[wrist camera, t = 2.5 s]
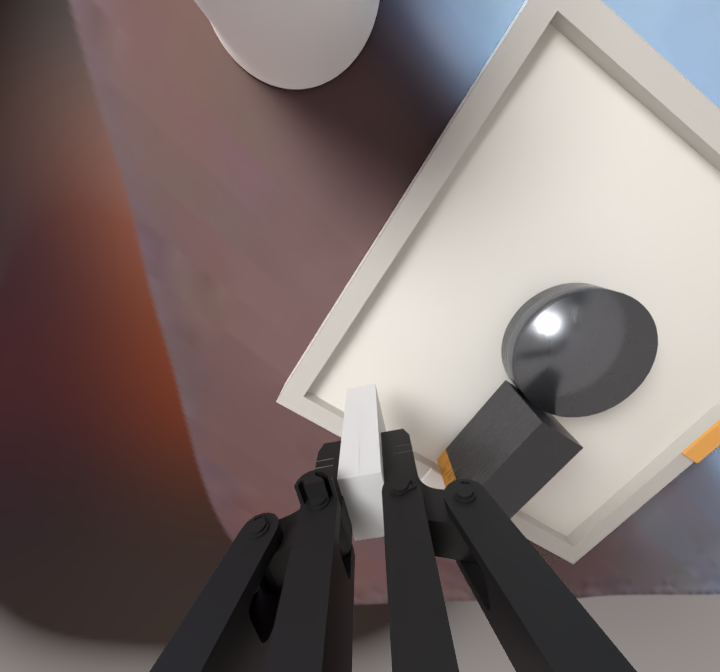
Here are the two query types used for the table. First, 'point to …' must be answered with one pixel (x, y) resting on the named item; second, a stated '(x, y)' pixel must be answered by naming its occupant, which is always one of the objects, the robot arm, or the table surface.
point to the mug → (292, 36)
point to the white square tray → (545, 264)
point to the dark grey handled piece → (552, 388)
